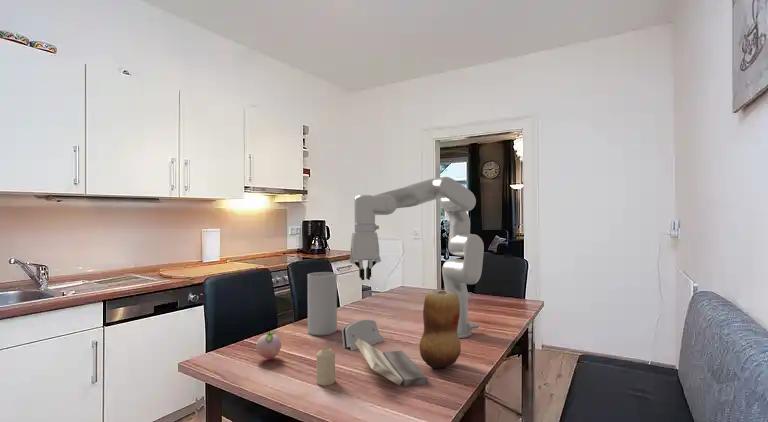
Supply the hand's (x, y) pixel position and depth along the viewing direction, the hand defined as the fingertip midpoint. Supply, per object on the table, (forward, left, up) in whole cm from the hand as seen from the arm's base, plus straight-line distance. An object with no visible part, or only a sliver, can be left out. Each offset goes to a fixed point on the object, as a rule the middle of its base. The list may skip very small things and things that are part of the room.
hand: (365, 279), depth 142 cm
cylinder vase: (+12, -32, -27) cm, 44 cm away
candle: (+17, +20, -27) cm, 38 cm away
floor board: (-8, +18, -27) cm, 34 cm away
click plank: (+1, +18, -24) cm, 30 cm away
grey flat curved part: (-1, -12, -28) cm, 30 cm away
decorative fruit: (+34, -4, -27) cm, 44 cm away
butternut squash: (-21, +19, -27) cm, 39 cm away
